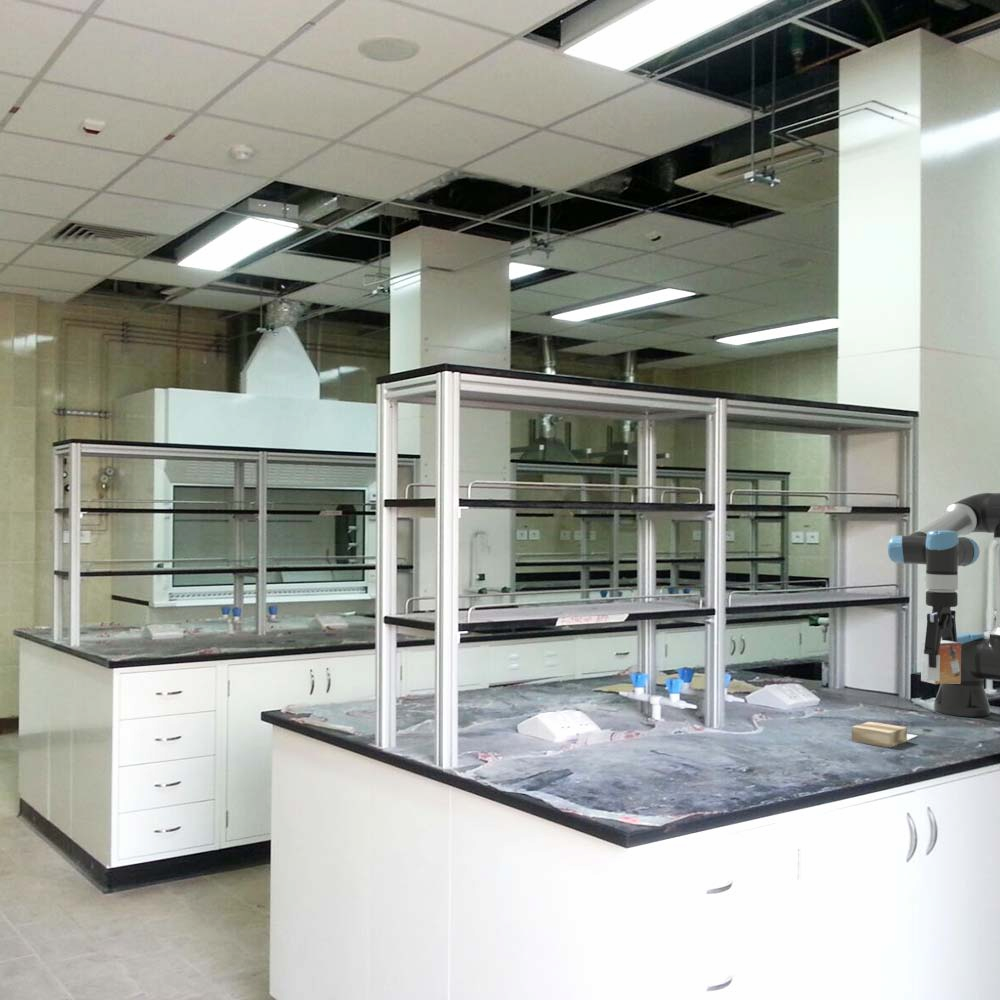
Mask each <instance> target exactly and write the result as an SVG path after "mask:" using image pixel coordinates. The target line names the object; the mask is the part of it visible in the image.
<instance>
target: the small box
mask: <svg viewBox="0 0 1000 1000" xmlns="http://www.w3.org/2000/svg"><path fill="white" fill-rule="evenodd" d="M924 648H925V640H921V651H920V653H921V655H920V656H921V657H920V659H921V660H920V661H921V662H920V666H921V667H920V668H921V669H920V671H921V672H920V681H921V682H925V683H929V684H932V685H940V684H960V683H961V643H960V642H954V641H949V640H942V639H941V642H940V647H939V652H938V655H940V681H932V680H928V654H924Z"/></svg>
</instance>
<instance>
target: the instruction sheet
mask: <svg viewBox="0 0 1000 1000" xmlns="http://www.w3.org/2000/svg"><path fill="white" fill-rule="evenodd" d="M917 737H919V735H917V734H912V733H911V734H910V733H907V741H910V740H913V739H915V738H917Z"/></svg>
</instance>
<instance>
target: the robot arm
mask: <svg viewBox="0 0 1000 1000" xmlns="http://www.w3.org/2000/svg"><path fill="white" fill-rule="evenodd" d="M971 533H989V534H992V533H993V540H994V541H995V542H996V543H997V544H998V561H997V562H998V569H997V590H996V591H997V592H996V611H995V612H996V613H995V628H994V629H993V630H991V631H990V632H989V638H986V636H985V634H984V633H983V632H964V633H957V626H956V625H957V624H956V613H957V611H956V610H951V608H955V607H957V606H958V597H959V596H958V593H957V592H956V591H957V590H958V589H959V578H958V577H959V576H958V575H959V574H958V573H959V571H958V569H959V567H967V566H970V565H972V564H974V563H975V562H977V560H978V558H979V556H980V548H979V545H978V543H977V542H976V541H975V540H974V539H972V538H971V537H970V538H969V537H965V536H966V535H969V534H971ZM887 545H888V546H887V553H888V554H887V555H888V557H889V560H891V562H893V563H897V564H903V565H906V564H909V565H925V567H926V568H925V576H924V579H923V580H924V581H925V588H926V589H927V591H926V592H925V604H926V606H929V607H932V609H931V613H926V631H925V640H924V641H925V648H924V654H928V680H932V681H940V655H938V652H939V647H940V642H941V641H942V640H949V641H954V642H960V643H961V683H960V684H939V687H938V691H937V693H936V697H935V699H934V702H933V709H934V711H935V712H937V713H940V714H945V715H951V716H959V717H970V718H973V717H978V718H979V717H988V716H990V715H991V706H990V703H989V699H988V696H987V693H986V690H985V687H984V686H985V685H984V682H985V681H984V680H987V681H995V682H1000V492H998V493H997V492H992V493H991V492H983V493H982V492H981V493H978V494H974V495H971V496H967V497H965V498H963V499H960V500H958V501H956V502H954V503H952V504H951V505H949V506H948V507H947V508H946V509H945V511H944V513H943V514H942V515H940V516H938V517H936V518H935V519H933V520H931V521H930V522H928V523H926V524H925V525H923V526H922V527H920V528H919V529H917V530H915V531H914V532H912V533H910V534H909V535H902V534H901V535H893V536H892V537H891V538H890V539H889V541H888V544H887Z"/></svg>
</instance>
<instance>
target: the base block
mask: <svg viewBox="0 0 1000 1000" xmlns="http://www.w3.org/2000/svg"><path fill="white" fill-rule="evenodd" d="M907 734H908V727H906V726H901V725H893V724H888V723H881V722H877V721H875V722H874V721H866V722H864V723H860V724H856V725H853V726H851V742H855V743H861V744H867V745H870V746H871V745H872V746H876V747H877V746H878V747H882V748H883V747H884V748H888V747H890V748H893V747H896V746H898V745H897V744H899V745H901V744H904V743H906V742H907V741H908V740H907ZM900 743H901V744H900ZM895 745H896V746H895ZM892 746H893V747H892Z"/></svg>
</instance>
